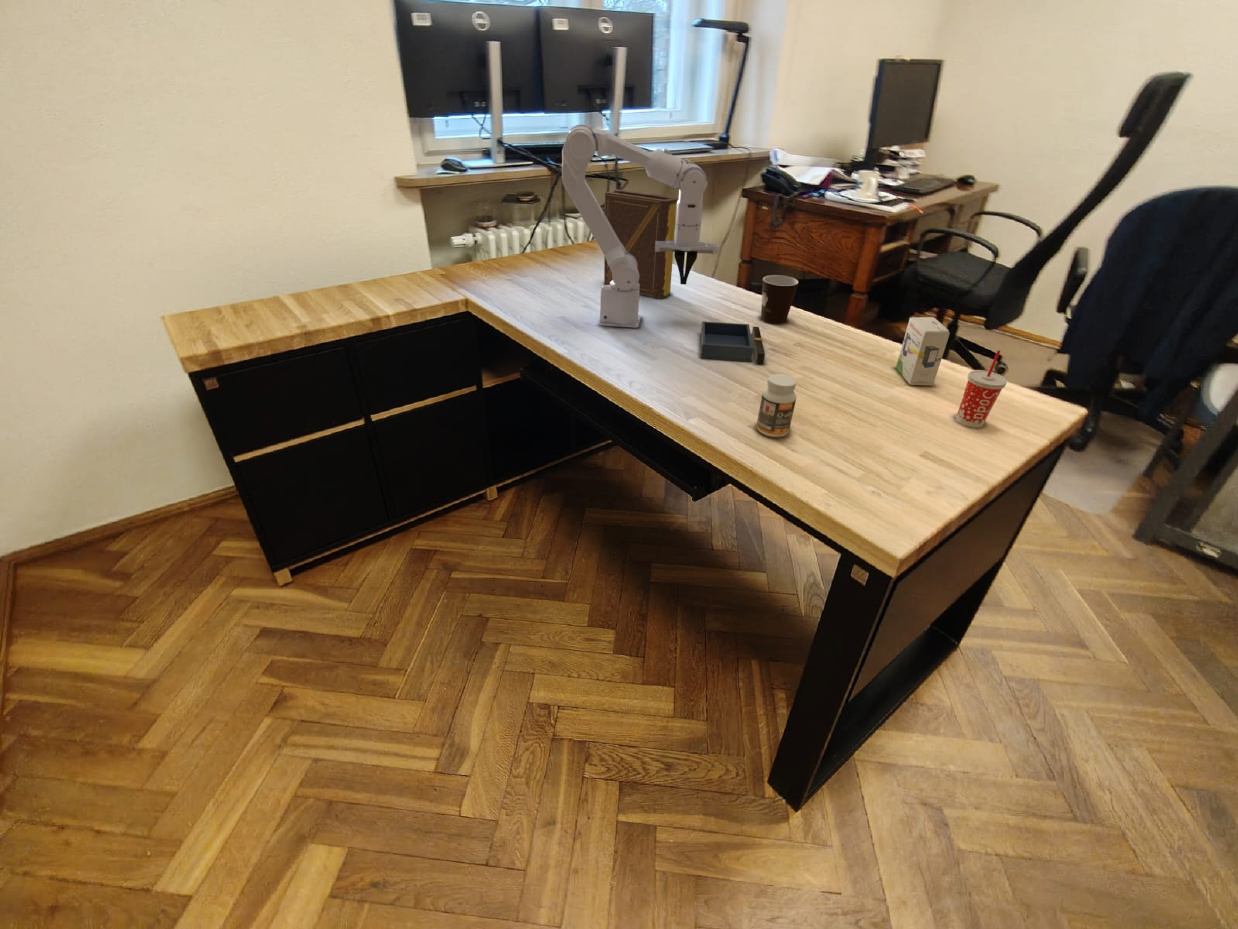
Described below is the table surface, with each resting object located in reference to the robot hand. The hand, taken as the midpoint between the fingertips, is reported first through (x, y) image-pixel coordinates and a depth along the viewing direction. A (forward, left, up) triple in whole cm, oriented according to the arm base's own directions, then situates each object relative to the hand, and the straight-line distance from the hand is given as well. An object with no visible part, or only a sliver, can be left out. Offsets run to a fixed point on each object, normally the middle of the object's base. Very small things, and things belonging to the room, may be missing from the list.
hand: (683, 283), depth 141 cm
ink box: (+50, -23, -10) cm, 56 cm away
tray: (+11, -14, -10) cm, 20 cm away
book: (-14, +24, -10) cm, 30 cm away
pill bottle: (+18, -50, -10) cm, 54 cm away
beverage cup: (+55, -41, -10) cm, 69 cm away
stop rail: (+18, -14, -10) cm, 25 cm away
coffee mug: (+24, +8, -10) cm, 27 cm away
